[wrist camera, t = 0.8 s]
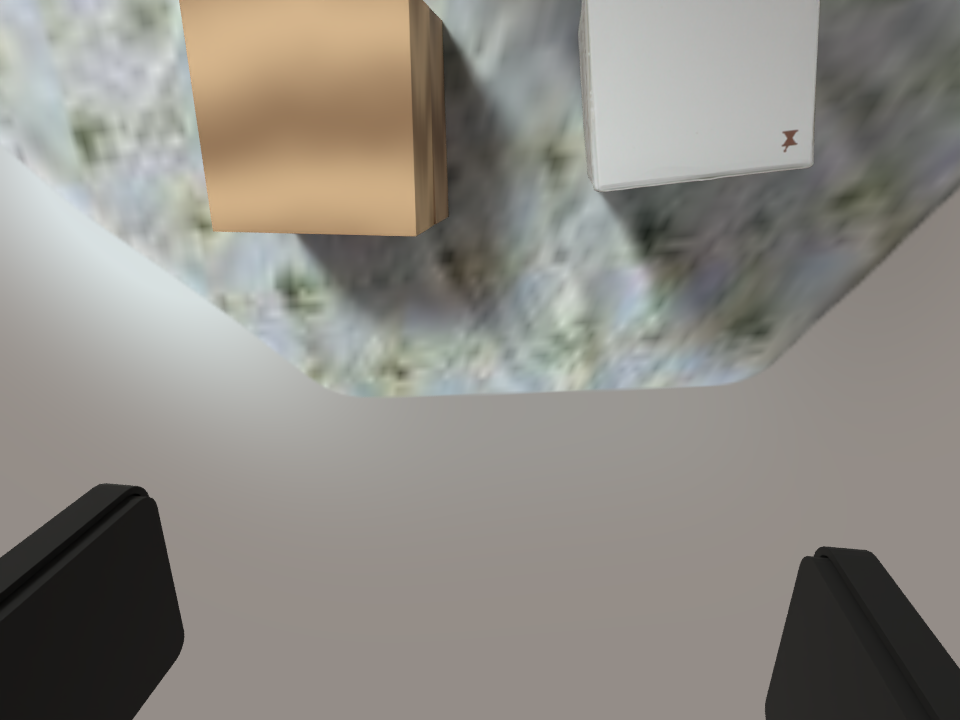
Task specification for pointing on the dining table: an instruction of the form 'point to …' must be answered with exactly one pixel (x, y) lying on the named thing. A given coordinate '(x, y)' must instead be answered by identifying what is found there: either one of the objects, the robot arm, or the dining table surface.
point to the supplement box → (696, 89)
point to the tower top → (313, 114)
